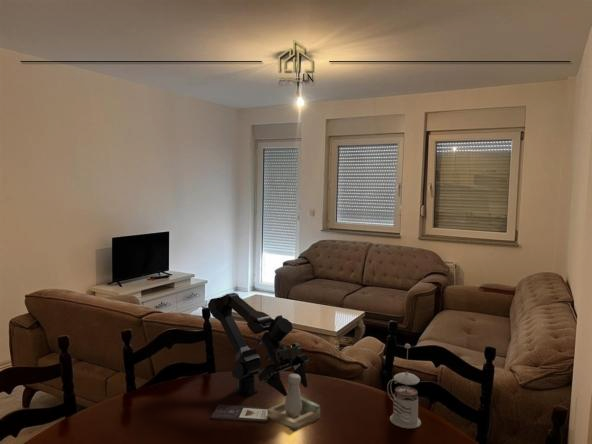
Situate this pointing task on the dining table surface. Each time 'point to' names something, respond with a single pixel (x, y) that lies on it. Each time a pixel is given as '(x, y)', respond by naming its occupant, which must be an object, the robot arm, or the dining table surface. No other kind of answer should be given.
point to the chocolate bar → (240, 413)
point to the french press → (410, 413)
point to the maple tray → (305, 417)
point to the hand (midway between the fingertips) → (296, 391)
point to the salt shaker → (293, 396)
